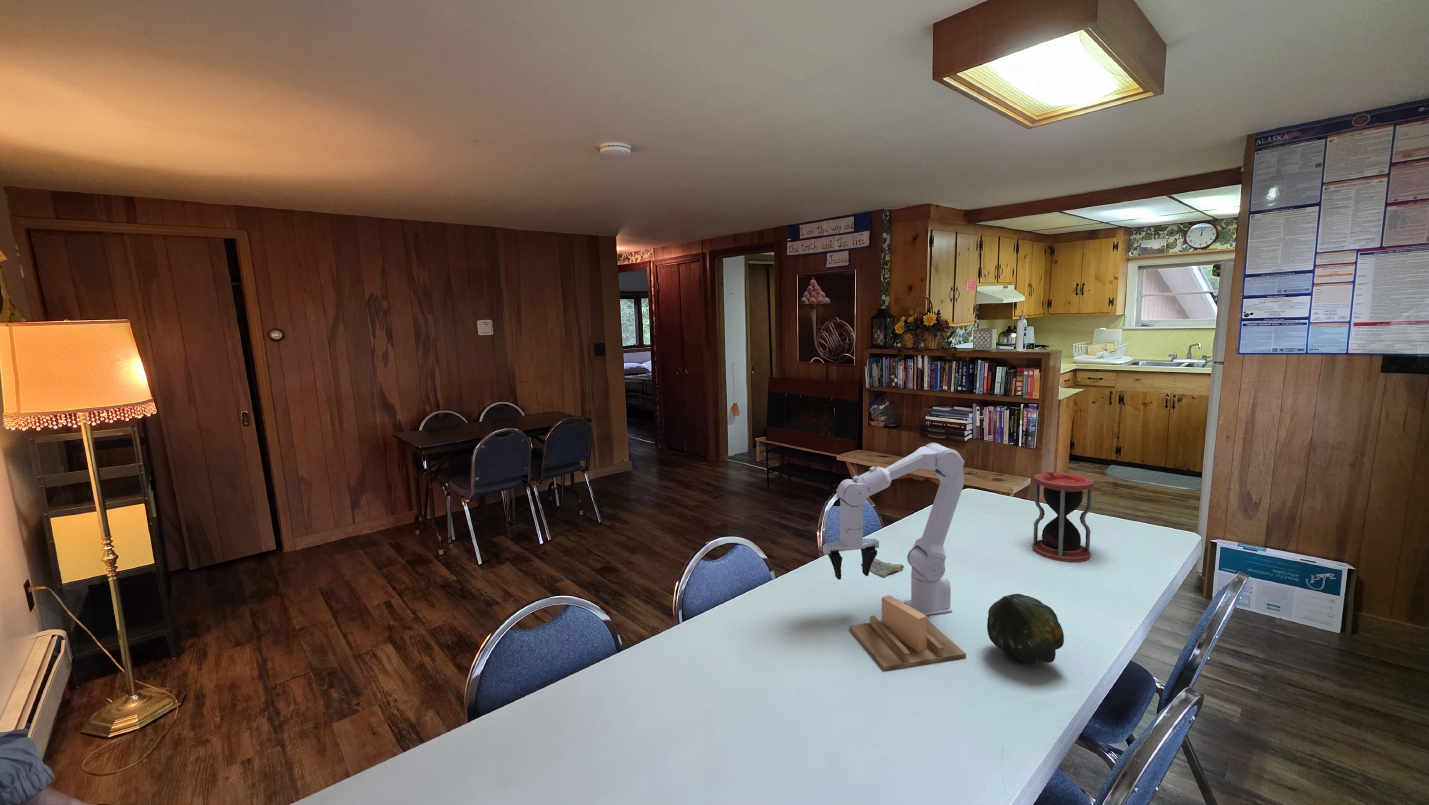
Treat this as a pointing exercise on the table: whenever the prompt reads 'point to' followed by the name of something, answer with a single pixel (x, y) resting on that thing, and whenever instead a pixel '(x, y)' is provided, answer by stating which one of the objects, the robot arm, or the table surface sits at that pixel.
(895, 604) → the clay block
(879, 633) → the ribbed wooden panel
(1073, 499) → the hourglass
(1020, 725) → the table surface
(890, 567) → the ceramic fragment
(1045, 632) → the squash
